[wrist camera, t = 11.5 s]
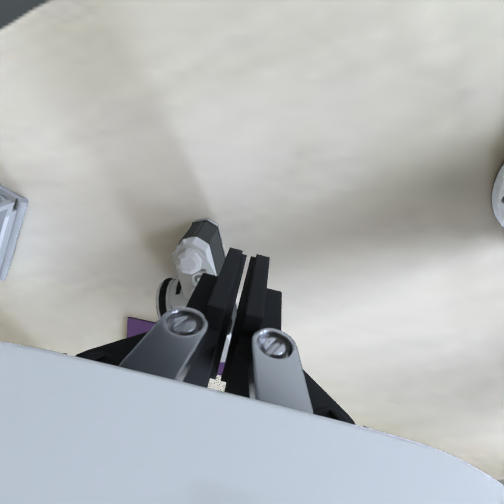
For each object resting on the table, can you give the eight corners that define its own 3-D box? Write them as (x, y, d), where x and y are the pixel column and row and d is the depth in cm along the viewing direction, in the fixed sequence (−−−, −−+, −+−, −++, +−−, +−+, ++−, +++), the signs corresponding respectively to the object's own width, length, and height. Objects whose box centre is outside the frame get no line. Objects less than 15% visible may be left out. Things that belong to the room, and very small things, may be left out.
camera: (153, 222, 36) (112, 260, 27) (222, 212, 34) (203, 248, 25) (187, 326, 42) (163, 384, 33) (246, 321, 41) (237, 380, 32)
